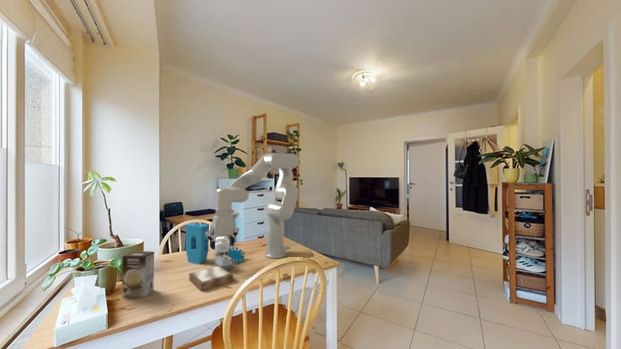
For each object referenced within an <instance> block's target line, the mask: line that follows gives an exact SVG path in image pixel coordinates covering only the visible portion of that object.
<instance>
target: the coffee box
mask: <svg viewBox="0 0 621 349" xmlns="http://www.w3.org/2000/svg"><path fill="white" fill-rule="evenodd" d="M121 274H122V278H121V279H122V283H121V284H122V285H121V286H122V288H121V290H122V295H121V297H124V298H125V297H128V298H130V297H132V298H133V297H135V298H136V297H137V298H138V297H139V298H145V297H146V296H148V295H149V294H150V293H152V292H153V291H154V288H155V287H154V285H155V284H154V283H155V282H154V281H155V277H154V276H155V251H151V250H150V251H146V250H145V251H143V250H133V251H130V252H128V253H126V254H124V255H122V273H121Z"/></svg>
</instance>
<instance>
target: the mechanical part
mask: <svg viewBox="0 0 621 349" xmlns="http://www.w3.org/2000/svg"><path fill="white" fill-rule="evenodd" d="M214 241H215V250H213V249H211V251H212V253H214V254H215V253H216V254H218V255H221V253H223V255H224V254H225V255H226V253H227V252H228V251H229V248H231V249H232V247H234V246H231V245H230V238H228V236H222V237H217V238H216V239H215V240H214Z"/></svg>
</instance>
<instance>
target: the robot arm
mask: <svg viewBox="0 0 621 349" xmlns="http://www.w3.org/2000/svg"><path fill="white" fill-rule="evenodd" d="M299 164H300V159H299V157H298V155H296V154H295V153H282V152H281V153H278V152H270V153H265V154H263V155H262V156H261V157H260V158H259V159H258V160H257V162H255V164H254V165H253V166H252V167H251V168H250V169H249V170H247V171H246V172H245V173H244V174H242V175H241V176H239V177H237V179H235V180H234V181H233V182H232V183H231V185H229V187H226V188H225V187H220V188H217V189H216V191H215V192H216V193H215V214H214V216H213V217H212V222H211V228H209V231H207V232H206V233H205V234H206V236H207V238H208V239H209V242H210V244H209V247H210V249H211V250H212V249H213V250H215V241H214V240H215V239H216V238H217V237H222V236H227V237H228V236H230V237H229V240H230V241H229V242H230V245H231V246H233V247H235V246H234V244H235V238H236V237H237V235H238V233H239V232H240V228H238V227H236V226H235V224H234V216H233V213H234V212H235V210H234V209H232V208H233V206H232V205H233V203H238V204H239V203H240V204H241V203H244V202H246V201H247V200H248V199H249V192H248V190H247V188H248V187H250V186H253V185H255V184H257V183H260V182H262V181H263V179H264V178H265V177H266V176H267V175H268V173H269V172H271V170H272V169H278V172H279V174H278V180H277V182H276V185H275V188H274V191H273V196H274V198H276V199H277V200H273V201H271V202H269V203H268V204H267V205H266V208H265V210H266V219H267V245H266V246H267V249H266V251H265V252H264V256H265V257H266V258H269V259H280V258H284V257H286V256H287V252H286V250H287V251H288V250H290V249H291V246H290V245H287V246H286V245H285V244H284V242H285V223H284V221H285V220H289V219H290V218H291V217H292V216H293V214H294V212H295V208H296V204H297V202H298V198H299V190H298V187H297V186H296V185H294V184H293V179H294V172H293V171H292V169H295V168H297V166H298V165H299ZM278 200H281V201H278ZM210 234H211V236H210Z"/></svg>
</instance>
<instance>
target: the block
mask: <svg viewBox="0 0 621 349" xmlns="http://www.w3.org/2000/svg"><path fill="white" fill-rule="evenodd" d="M209 227H210V226H209V224H205V223H204V224H203V223H198V222H197V223H196V222H191V223H186V224H185V252H186V258H187V259H186V260H187V262H188V263H190V264H196V265H202V264H204V263H206V262H207V259H208V254H209V247H210V244H209V242H210V240H209V239H208V238H207V236H206V234H205V233H206V232H207V231H209V230H210V228H209Z"/></svg>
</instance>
